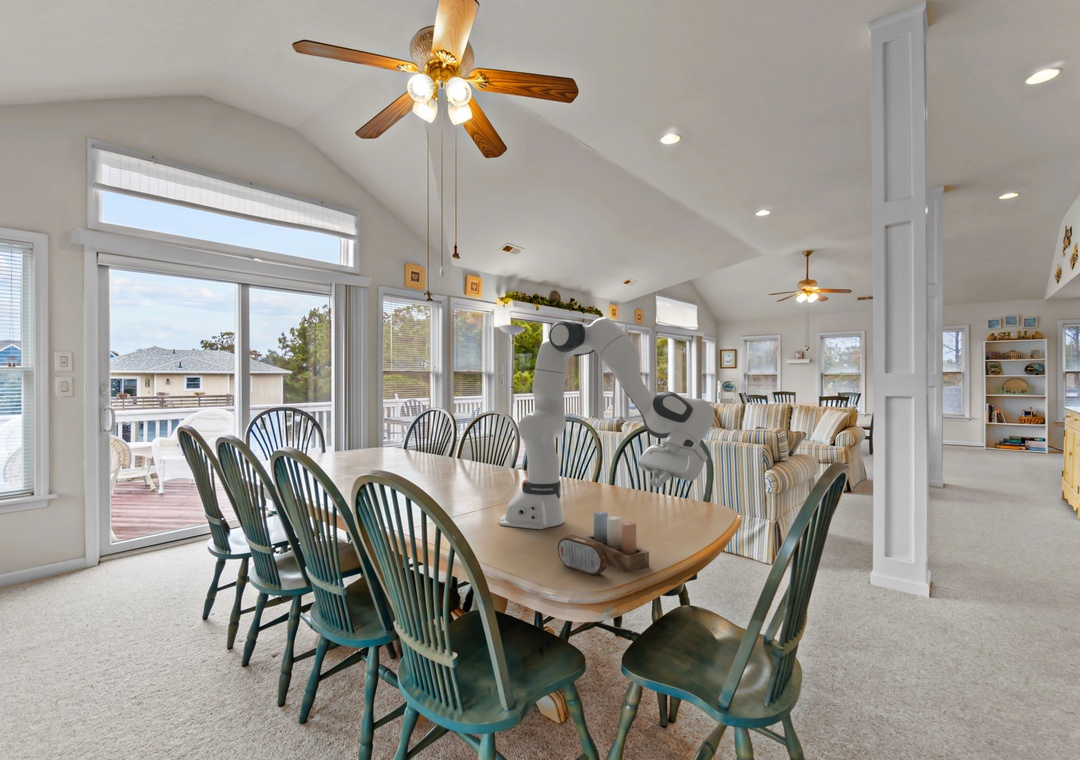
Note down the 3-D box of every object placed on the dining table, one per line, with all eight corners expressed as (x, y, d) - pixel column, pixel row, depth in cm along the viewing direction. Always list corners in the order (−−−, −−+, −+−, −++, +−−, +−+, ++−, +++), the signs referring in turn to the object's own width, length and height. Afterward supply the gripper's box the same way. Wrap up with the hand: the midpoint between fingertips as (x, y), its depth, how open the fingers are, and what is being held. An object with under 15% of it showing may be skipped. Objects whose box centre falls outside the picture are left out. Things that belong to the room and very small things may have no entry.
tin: (608, 576, 129) (608, 543, 129) (601, 579, 127) (601, 546, 127) (563, 561, 139) (562, 531, 139) (555, 565, 137) (555, 533, 137)
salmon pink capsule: (621, 555, 134) (621, 525, 134) (621, 550, 138) (621, 521, 138) (636, 556, 134) (636, 526, 133) (636, 551, 138) (636, 521, 137)
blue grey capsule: (593, 543, 144) (593, 515, 144) (594, 538, 148) (594, 511, 148) (607, 543, 144) (607, 515, 144) (607, 539, 148) (607, 511, 148)
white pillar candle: (606, 549, 139) (606, 520, 139) (607, 544, 143) (607, 516, 143) (621, 549, 139) (621, 520, 139) (621, 545, 143) (621, 516, 143)
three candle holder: (649, 566, 135) (649, 551, 135) (626, 572, 131) (626, 557, 131) (604, 546, 151) (604, 532, 151) (582, 551, 147) (582, 537, 147)
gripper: (648, 436, 153) (623, 472, 148) (701, 444, 136) (675, 484, 131) (658, 449, 156) (634, 485, 151) (713, 459, 138) (688, 499, 133)
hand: (654, 485), depth 141 cm, fingers closed
